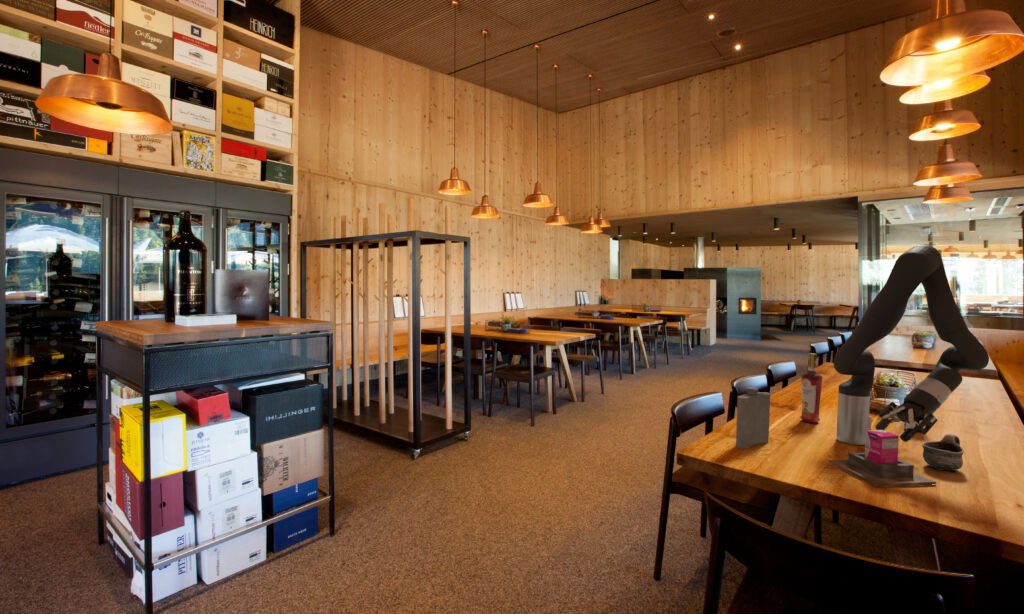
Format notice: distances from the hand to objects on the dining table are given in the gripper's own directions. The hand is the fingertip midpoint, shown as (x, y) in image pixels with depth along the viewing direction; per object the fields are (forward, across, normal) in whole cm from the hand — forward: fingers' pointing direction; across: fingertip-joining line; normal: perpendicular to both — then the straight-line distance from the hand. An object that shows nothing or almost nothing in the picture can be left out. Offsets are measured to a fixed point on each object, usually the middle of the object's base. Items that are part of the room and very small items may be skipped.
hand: (889, 434), depth 144 cm
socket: (+10, 0, +6) cm, 12 cm away
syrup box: (-24, -39, +42) cm, 62 cm away
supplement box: (+10, 0, +6) cm, 11 cm away
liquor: (-1, -52, +18) cm, 55 cm away
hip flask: (+27, -28, -10) cm, 40 cm away
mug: (-6, -3, +23) cm, 24 cm away
